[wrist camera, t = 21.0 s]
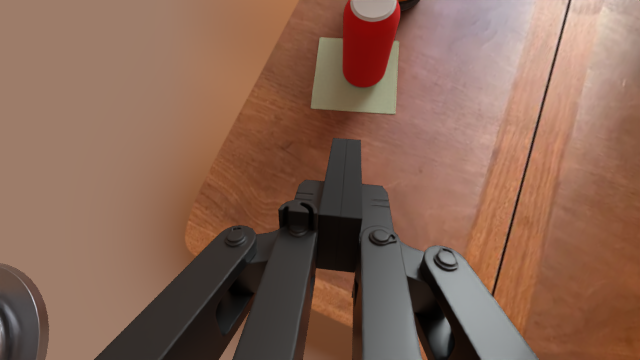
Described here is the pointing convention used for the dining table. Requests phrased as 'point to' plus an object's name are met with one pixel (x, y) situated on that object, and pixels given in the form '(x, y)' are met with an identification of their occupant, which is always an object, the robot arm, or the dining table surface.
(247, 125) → the dining table surface
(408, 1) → the canister
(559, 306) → the dining table surface
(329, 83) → the felt mat
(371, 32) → the beverage can
